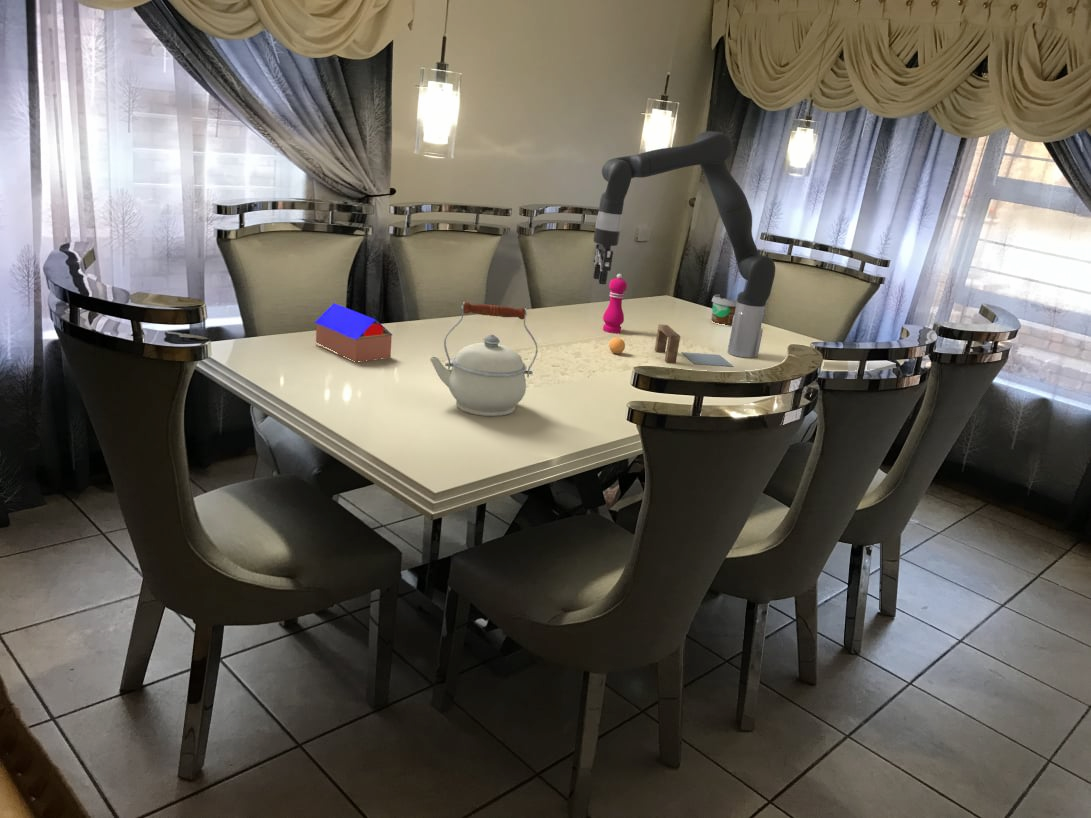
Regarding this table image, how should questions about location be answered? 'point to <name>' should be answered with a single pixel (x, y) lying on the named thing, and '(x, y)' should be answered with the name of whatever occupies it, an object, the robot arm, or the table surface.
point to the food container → (723, 310)
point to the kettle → (486, 369)
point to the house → (353, 334)
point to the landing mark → (707, 359)
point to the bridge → (672, 345)
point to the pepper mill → (615, 306)
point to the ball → (617, 345)
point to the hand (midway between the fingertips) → (599, 281)
